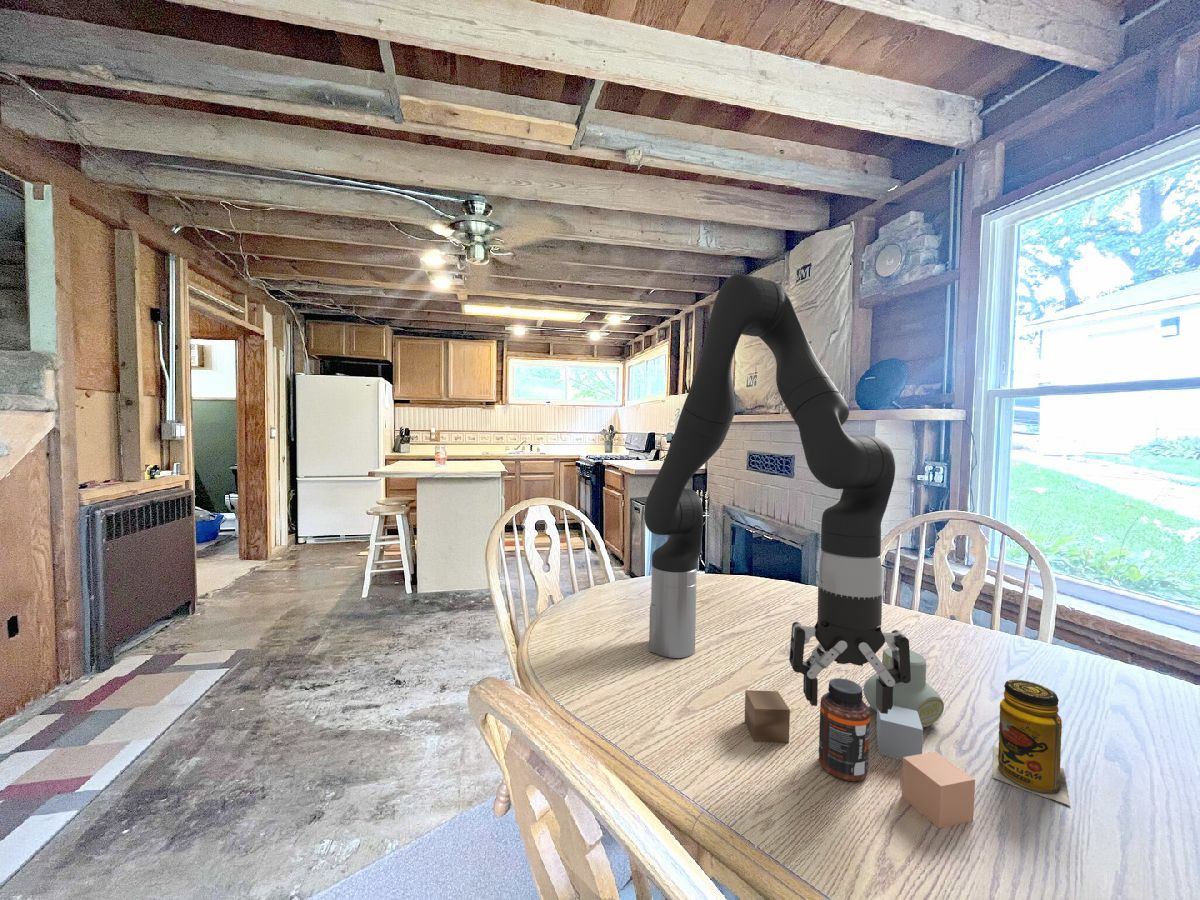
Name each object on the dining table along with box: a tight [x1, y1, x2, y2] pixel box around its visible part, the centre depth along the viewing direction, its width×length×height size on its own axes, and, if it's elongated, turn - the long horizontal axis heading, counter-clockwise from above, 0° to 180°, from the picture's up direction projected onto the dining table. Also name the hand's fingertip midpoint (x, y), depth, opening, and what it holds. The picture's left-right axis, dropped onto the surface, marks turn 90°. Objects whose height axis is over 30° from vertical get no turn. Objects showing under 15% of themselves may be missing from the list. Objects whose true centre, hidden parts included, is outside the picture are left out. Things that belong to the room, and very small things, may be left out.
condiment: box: [992, 679, 1071, 807], centre depth 63 cm, size 7×8×12 cm
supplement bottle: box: [818, 677, 871, 782], centre depth 64 cm, size 6×6×11 cm
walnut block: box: [744, 689, 791, 744], centre depth 71 cm, size 5×5×5 cm
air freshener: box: [862, 647, 945, 728], centre depth 76 cm, size 11×8×10 cm
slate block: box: [875, 706, 924, 761], centre depth 68 cm, size 5×5×5 cm
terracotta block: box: [901, 751, 976, 829], centre depth 57 cm, size 5×5×5 cm
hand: (846, 706), depth 63 cm, fingers open, 8 cm apart
